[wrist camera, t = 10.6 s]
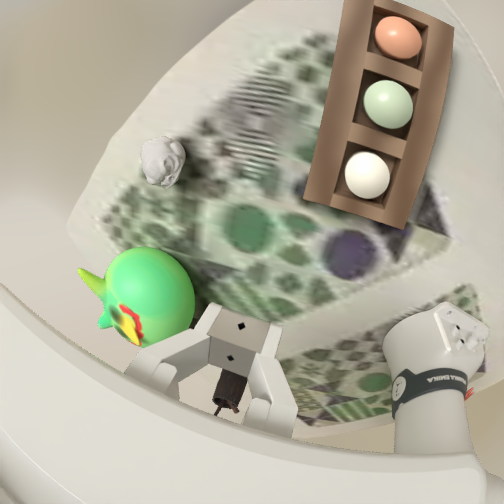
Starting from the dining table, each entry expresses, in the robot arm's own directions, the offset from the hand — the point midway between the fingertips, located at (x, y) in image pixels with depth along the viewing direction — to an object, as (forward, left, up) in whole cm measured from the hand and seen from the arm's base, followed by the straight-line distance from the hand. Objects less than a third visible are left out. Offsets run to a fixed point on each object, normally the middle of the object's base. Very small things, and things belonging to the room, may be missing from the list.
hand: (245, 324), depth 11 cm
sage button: (-6, -10, -22) cm, 25 cm away
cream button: (-6, -2, -23) cm, 24 cm away
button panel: (-6, -10, -26) cm, 28 cm away
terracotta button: (-6, -18, -23) cm, 30 cm away
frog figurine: (+18, +2, -26) cm, 31 cm away
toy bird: (+20, +24, -26) cm, 40 cm away
